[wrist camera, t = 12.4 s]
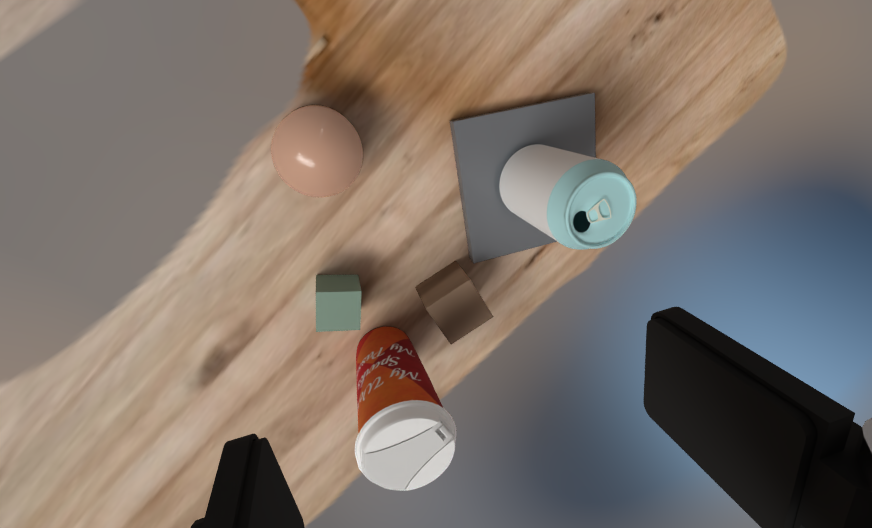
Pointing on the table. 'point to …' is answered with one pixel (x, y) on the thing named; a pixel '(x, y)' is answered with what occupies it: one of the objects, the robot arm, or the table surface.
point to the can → (568, 195)
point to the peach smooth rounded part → (317, 151)
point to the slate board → (489, 152)
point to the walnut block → (453, 302)
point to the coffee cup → (399, 414)
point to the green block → (338, 303)
